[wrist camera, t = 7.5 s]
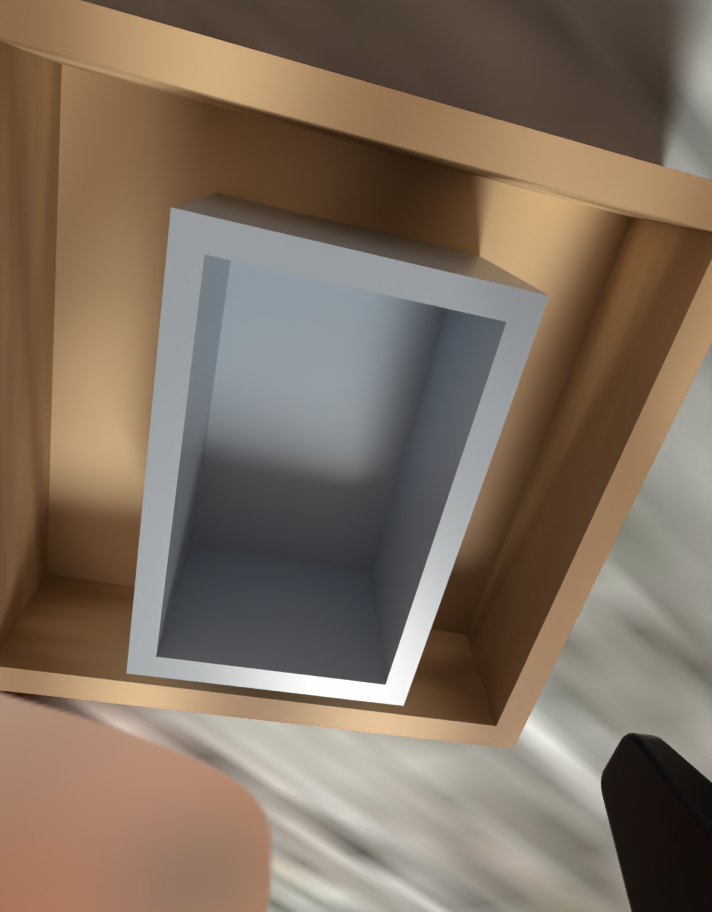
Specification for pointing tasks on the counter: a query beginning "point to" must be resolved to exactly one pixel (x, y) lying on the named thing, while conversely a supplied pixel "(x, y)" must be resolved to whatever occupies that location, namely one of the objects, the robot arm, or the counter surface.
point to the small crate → (315, 447)
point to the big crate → (350, 202)
